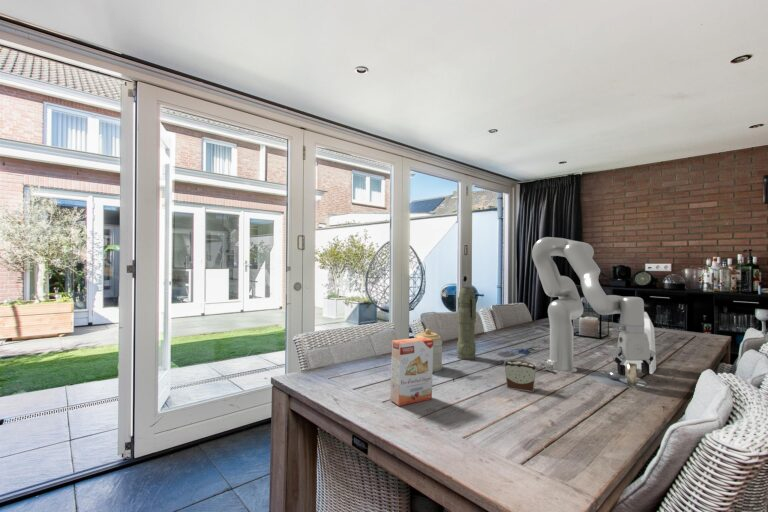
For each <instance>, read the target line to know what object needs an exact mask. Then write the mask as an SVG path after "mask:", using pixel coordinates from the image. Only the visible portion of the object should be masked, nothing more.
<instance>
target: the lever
mask: <svg viewBox="0 0 768 512" xmlns="http://www.w3.org/2000/svg"><path fill="white" fill-rule="evenodd" d="M637 370H638V369H637V364H636V363H632V362H627V367H626V372H625V376H622V375H620V374H618V371H617V370H616V369H609V370H607V372H608V377H609V378H611V379H616V380H620V381H622V382H625V383H626V384H628V385H631V386H636V385H637V378H638V377H637V374H638V373H637V372H638V371H637ZM626 374H627V378H626Z"/></svg>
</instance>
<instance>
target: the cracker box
mask: <svg viewBox="0 0 768 512" xmlns="http://www.w3.org/2000/svg"><path fill="white" fill-rule="evenodd" d="M390 361H391V363H390V369H391V370H390V402H392V403H394V404H395V405H397V406H398V407H400V406H406V405H410V404H415V403H419V402H423V401H424V402H425V401H428V400H431V399H433V373H434V372H433V340H432V339H429V338H426V337H419V338H416V337H412V338H401V339H393V340H392V341H391V360H390Z"/></svg>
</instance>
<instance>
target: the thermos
mask: <svg viewBox="0 0 768 512" xmlns="http://www.w3.org/2000/svg"><path fill="white" fill-rule="evenodd" d="M458 292H459V293H458V297H457V323H458V326H457V327H458V333H457V334H458V335H457V337H458V340H457V343H456V352H457V358H458V359H460V360H465V361H470V360H471V361H472V360H475V359H476V348H477V347H476V346H477V345H476V341H475V335H476V334H475V333H476V331H475V329H476V328H475V326H476V325H475V324H476V319H477V300H476V298H475V297H476V295H475V290H474V288H473V287H471V286H462V287H460V289H459V291H458Z"/></svg>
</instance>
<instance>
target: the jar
mask: <svg viewBox="0 0 768 512" xmlns="http://www.w3.org/2000/svg"><path fill="white" fill-rule="evenodd" d="M414 336H415V337H414V338H419V337H426V338H429V339H432V340H433V372H432V373H435V372H439V371H441V370H442V367H443V348H442V344H443V340H441V335H439V334H438V333H436V332H432V329H430V328H426V329H425V330H424V331H423V332H418V334H416V335H414Z"/></svg>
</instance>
